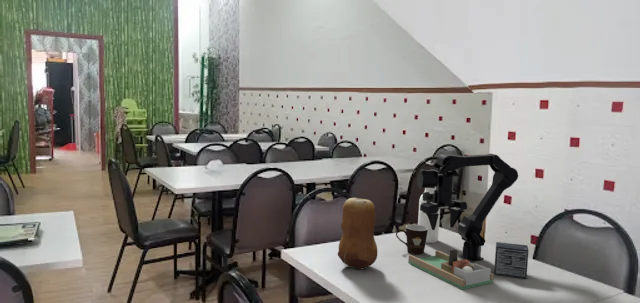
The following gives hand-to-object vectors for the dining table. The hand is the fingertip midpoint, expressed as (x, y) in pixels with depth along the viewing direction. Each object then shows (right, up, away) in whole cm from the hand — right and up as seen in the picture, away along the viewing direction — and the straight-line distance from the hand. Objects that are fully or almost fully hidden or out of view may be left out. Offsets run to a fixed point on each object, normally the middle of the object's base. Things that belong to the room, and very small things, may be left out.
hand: (442, 228), depth 183 cm
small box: (+21, -14, -12) cm, 28 cm away
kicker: (0, -13, -14) cm, 19 cm away
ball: (+3, -12, -20) cm, 23 cm away
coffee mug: (-10, -11, +10) cm, 18 cm away
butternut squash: (-33, -12, -10) cm, 37 cm away
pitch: (-1, -13, -12) cm, 18 cm away
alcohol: (0, -9, +25) cm, 27 cm away
